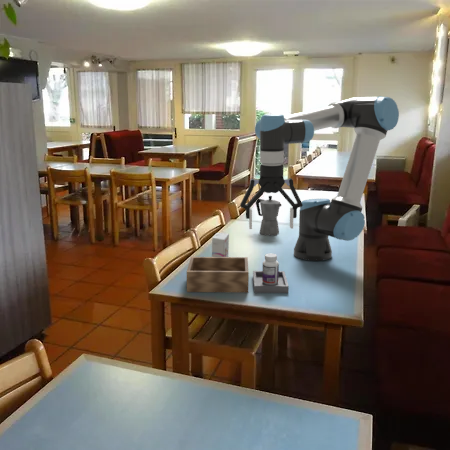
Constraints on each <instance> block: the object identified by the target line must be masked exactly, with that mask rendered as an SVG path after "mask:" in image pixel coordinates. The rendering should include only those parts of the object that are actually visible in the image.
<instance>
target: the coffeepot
mask: <svg viewBox="0 0 450 450" xmlns="http://www.w3.org/2000/svg"><path fill="white" fill-rule="evenodd" d="M272 198H273V196H272V195H268V199H263V198H262V199H261V198H258V199H257V201H256V202H255V207H256V209H257V210H256V211H257V215H258V216H260V217H262V219H261V223H260V228H259V234H261V235H263V236H277V235H279V233H280V229H279V221H278V216H279V210H280V207H282V204H281V202H280V201H278V200H275V199H272Z"/></svg>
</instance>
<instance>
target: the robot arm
mask: <svg viewBox="0 0 450 450" xmlns="http://www.w3.org/2000/svg"><path fill="white" fill-rule="evenodd" d="M397 104H398V103H397V102H396V101H395V100H394V99H393V98H391V97H390V96H381V95H379V96H355V97H350V98H347V99H344V100H339V101H336V102H331V103H330V104H329V105H328V106H326V107H321V108H317V109H310V110H307V111H302V112H297V113H293V114H289V115H288V114H287V115H283V114H263V115H261V118H260V119H259V120H258V121H257V123H256V124H255V126H254V133H255V136H256V138H258V139H259V140H260V142H259V151H260V152H259V163H260V166H259V179H254V178H250V180H249V186H248V188H247V190H246V191H245V193H244V195H243V198H242V200H241V202H240V203H239V205H240V208H243V209H244V210H245V219H247V220H248V219H249V220H248V227H249V230H252V229H253V209H252V206H253V205H254V204H256V201H257V200H258V199H260V197H261V196H262V195H263V194H264V193H266V194H271V193H273V194H277V193H278V192H279V193H280V194H281V195H282V196H283V198H284V199H285V200H286V201H287V203H289V204H290V206H291V207H290V208H289V228H290V229H294V219H296V218H297V216H298V215H299V220H298V221H299V223H298V225H299V226H298V237H297V240H296V242H295V246H294V247H293V256H294V257H296V258H297V259H300V260H304V261H310V262H311V261H312V262H320V261H322V262H323V261H327V260H330V259H331V258H332V254H333V251H332V246H331V243H330V239H329V237H332V238H335V239H336V240H340V241H348V242H349V241H352V240H354V239H356V238H358V236H360V235H361V233H362V232H363V230H364V227H365V224H366V220H365V215H364V213H362V211H363V206H362V205H361V200H362V197H363V194H364V192H365V187H366V185H367V181H368V178H369V175H370V172H371V169H372V166H373V164H374V163H373V162H374V160H375V156H376V154H377V150H378V148H379V144H380V142H381V140H383V139H385V138H386V137H387V133H388V131H391V130H394V128H396V127H397V124H398V122H399V117H400V113H399V112H400V111H399V108H398V105H397ZM328 128H332V129H338V128H339V129H340V128H349V129H350V128H353V130H354V132H355V134H356V136H355V139H354V142H353V145H352V149H351V152H350V155H349V158H348V160H347V164H346V167H345V171H344V174H343V177H342V180H341V182H340V187H339V190H338V192H337V196H335V197H333V198H331V199H329V198H311V199H305V200H302V201H301V198H300V197H299V194H298V192H297V190H296V188H295V186H294V179H292V177H289V178H287V179H284V165H283V163H284V161H285V160H284V159H285V158H284V157H285V155H284V152H285V145H291V144H304V143H309V142H310V141H312V139H313V137H314V136H315V131H319V130H323V129H328ZM285 184H286V185H287V186H288V187H289V188H290V191H291V193H292V195H293V197H294V199H295V201H296V202H294V201H293V199H292V198H291V197H290V196H289V195H288V194H287V192H286V191H285V190H284V189H283V186H284V185H285ZM257 185H259V187H260V188H259V189H258V191H257V192H256V193H255V194H254V195H253V197H251V199H249V198H250V196H251V194H252V192H253V190H254V187H257ZM248 200H249V201H248ZM298 208H299V211H298V210H297V209H298ZM297 211H298V212H299V214H298V212H297ZM297 214H298V215H297Z"/></svg>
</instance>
